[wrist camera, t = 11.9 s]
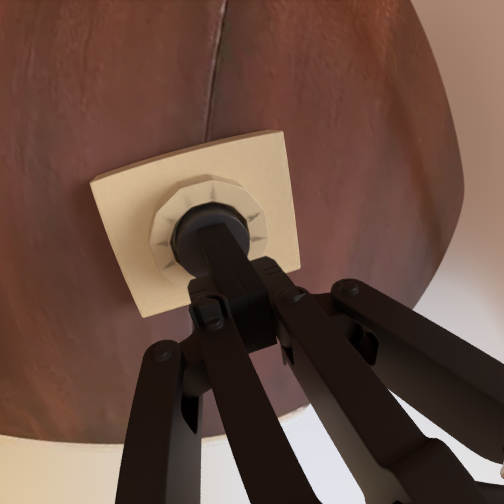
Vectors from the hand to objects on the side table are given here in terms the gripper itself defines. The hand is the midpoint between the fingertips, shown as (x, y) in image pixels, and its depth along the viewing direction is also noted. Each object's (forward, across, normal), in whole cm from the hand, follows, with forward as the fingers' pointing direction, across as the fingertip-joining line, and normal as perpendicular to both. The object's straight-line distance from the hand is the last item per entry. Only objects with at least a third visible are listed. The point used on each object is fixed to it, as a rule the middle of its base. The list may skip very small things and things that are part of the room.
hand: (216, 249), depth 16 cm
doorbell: (+5, 0, 0) cm, 5 cm away
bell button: (+2, 0, 0) cm, 2 cm away
